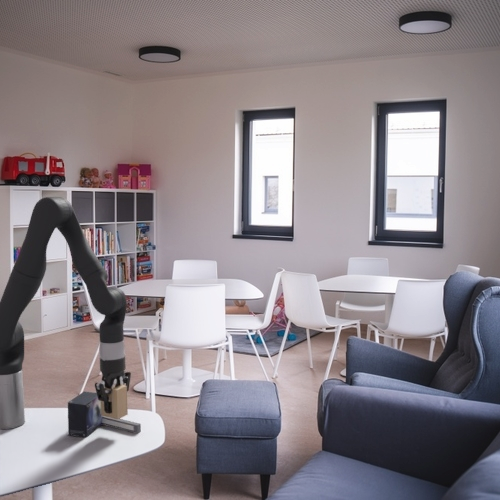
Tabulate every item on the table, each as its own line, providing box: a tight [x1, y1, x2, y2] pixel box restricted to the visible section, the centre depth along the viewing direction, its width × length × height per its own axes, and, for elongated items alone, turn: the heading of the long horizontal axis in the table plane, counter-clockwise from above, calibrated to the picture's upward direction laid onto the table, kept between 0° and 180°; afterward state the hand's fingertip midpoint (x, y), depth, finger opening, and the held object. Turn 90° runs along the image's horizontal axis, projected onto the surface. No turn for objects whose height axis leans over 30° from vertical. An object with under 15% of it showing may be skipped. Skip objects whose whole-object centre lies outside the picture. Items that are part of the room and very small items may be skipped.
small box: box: [67, 391, 103, 438], centre depth 202 cm, size 11×6×10 cm, turn 166°
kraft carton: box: [101, 384, 129, 419], centre depth 199 cm, size 5×6×9 cm
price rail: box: [102, 416, 142, 434], centre depth 206 cm, size 22×2×2 cm, turn 60°
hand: (114, 409), depth 199 cm, fingers closed on kraft carton, 4 cm apart
